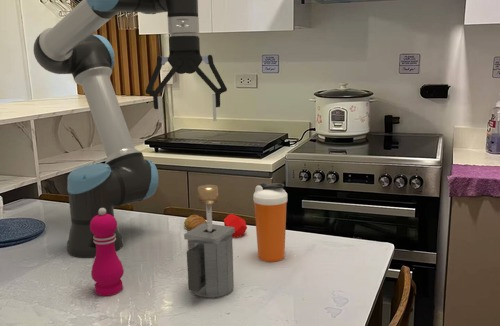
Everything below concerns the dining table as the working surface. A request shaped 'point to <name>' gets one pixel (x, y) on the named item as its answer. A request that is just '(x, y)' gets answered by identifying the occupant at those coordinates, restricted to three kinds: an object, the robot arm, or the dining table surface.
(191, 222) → the pastry
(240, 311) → the dining table surface
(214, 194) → the plunger
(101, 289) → the pepper mill
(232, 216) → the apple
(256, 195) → the shaker bottle
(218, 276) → the faceted grey canister
